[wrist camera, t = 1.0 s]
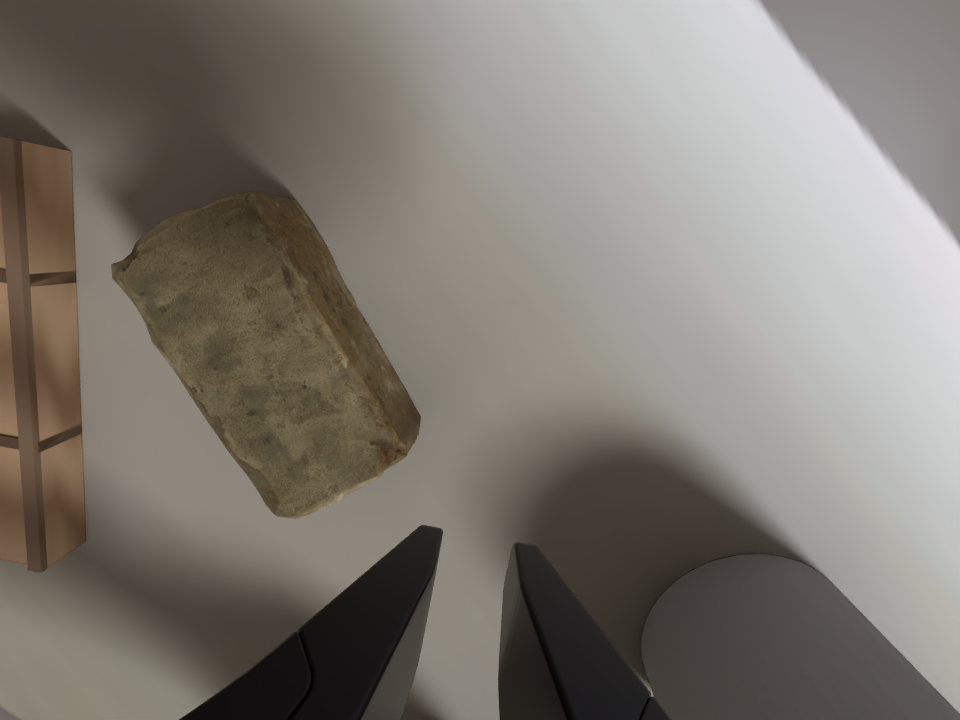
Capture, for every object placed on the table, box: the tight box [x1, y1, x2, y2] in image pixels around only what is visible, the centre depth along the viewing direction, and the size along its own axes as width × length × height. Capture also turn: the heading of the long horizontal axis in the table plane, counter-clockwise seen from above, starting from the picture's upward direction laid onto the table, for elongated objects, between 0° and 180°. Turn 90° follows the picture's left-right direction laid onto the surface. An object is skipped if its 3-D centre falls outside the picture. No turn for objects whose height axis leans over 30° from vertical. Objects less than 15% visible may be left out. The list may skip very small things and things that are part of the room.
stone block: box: [111, 192, 421, 518], centre depth 18 cm, size 6×12×5 cm, turn 28°
